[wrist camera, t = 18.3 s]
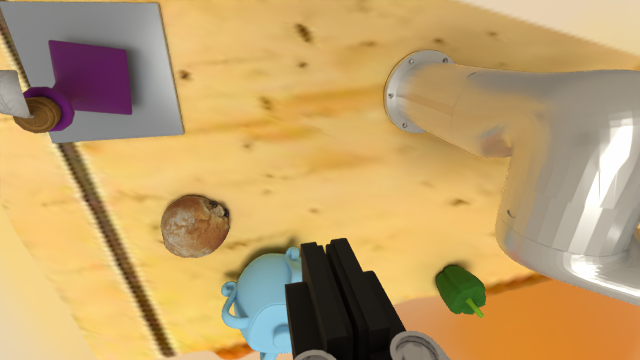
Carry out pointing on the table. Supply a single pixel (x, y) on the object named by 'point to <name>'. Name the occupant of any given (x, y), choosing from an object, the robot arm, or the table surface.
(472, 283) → the bell pepper
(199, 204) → the bread roll
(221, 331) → the table surface
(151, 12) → the slate tile
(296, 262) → the decorative pot
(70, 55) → the perfume bottle
